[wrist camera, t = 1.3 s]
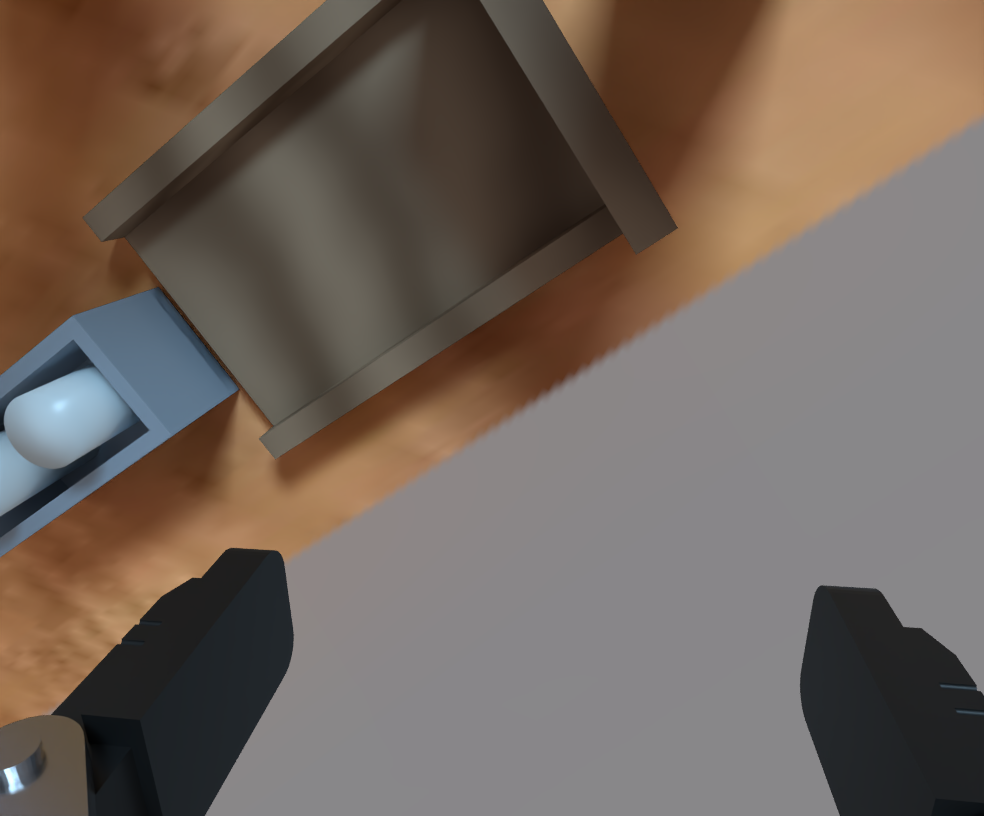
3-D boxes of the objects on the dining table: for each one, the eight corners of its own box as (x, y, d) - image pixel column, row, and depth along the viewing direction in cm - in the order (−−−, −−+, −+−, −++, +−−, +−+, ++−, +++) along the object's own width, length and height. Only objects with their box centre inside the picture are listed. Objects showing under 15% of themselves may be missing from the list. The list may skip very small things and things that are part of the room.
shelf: (298, 435, 36) (204, 528, 27) (122, 211, 33) (-44, 236, 24) (655, 203, 30) (677, 228, 21) (476, -96, 27) (419, -206, 18)
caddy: (82, 500, 39) (-36, 582, 32) (3, 411, 38) (-138, 476, 30) (239, 389, 35) (146, 453, 28) (158, 287, 34) (39, 326, 27)
